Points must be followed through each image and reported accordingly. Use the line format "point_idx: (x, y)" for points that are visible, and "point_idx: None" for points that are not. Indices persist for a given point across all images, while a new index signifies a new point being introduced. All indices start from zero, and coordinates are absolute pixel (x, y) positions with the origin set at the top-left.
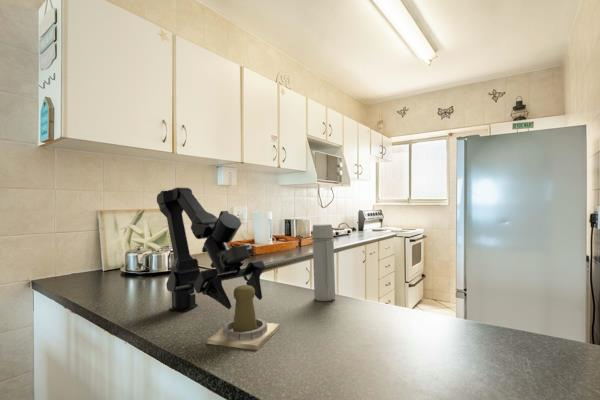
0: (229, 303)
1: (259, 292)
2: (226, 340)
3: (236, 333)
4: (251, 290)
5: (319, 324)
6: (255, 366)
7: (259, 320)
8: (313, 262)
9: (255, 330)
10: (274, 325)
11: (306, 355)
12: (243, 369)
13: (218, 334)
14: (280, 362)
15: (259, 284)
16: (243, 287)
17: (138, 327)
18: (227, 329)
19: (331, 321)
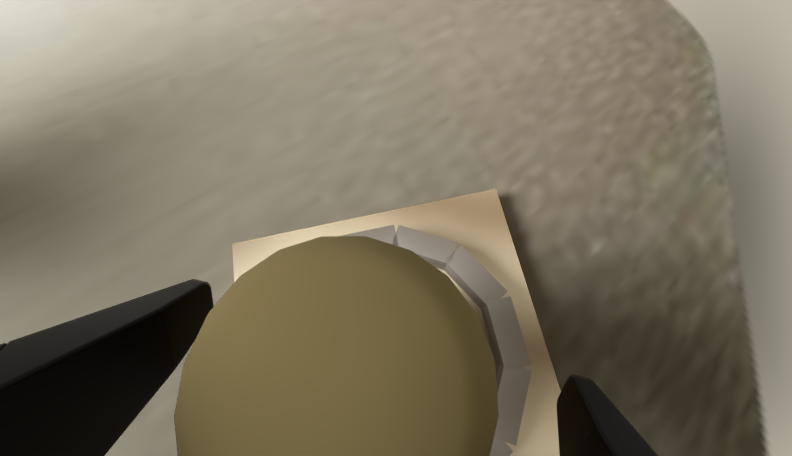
0: (599, 398)
1: (160, 304)
2: (538, 366)
3: (513, 314)
4: (345, 238)
5: (150, 118)
6: (592, 125)
7: None
8: None
9: (426, 244)
10: (259, 258)
11: (430, 35)
12: (635, 147)
13: None
14: (518, 75)
15: (3, 351)
16: (396, 343)
17: None
18: (498, 418)
19: (105, 93)
